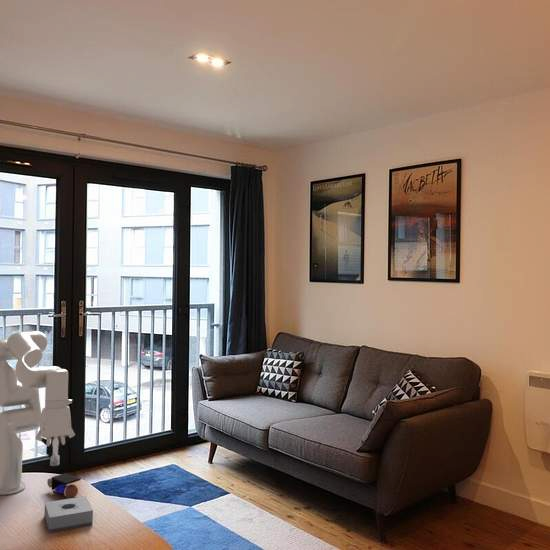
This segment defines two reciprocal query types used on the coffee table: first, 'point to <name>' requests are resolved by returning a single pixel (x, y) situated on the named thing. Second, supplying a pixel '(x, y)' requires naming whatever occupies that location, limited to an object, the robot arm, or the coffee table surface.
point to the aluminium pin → (55, 451)
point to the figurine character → (64, 484)
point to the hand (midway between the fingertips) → (55, 455)
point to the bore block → (68, 514)
